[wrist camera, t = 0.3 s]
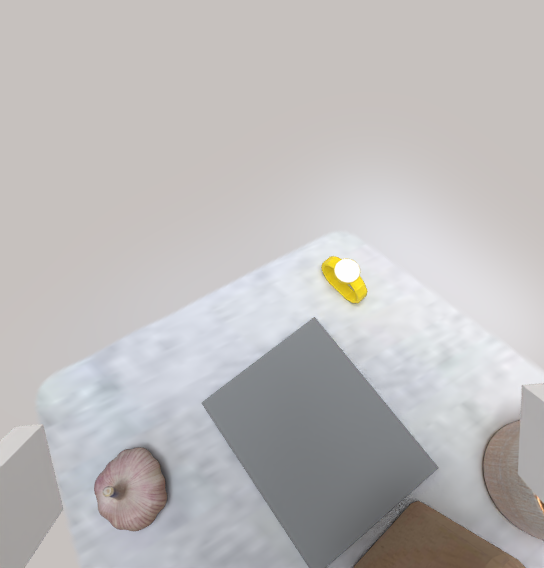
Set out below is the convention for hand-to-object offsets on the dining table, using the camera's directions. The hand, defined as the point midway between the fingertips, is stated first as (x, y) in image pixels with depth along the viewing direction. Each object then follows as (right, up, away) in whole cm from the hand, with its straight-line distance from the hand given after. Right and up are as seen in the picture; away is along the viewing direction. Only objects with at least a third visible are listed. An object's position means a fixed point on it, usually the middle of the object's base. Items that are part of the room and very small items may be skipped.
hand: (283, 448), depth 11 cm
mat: (+4, -12, +32) cm, 35 cm away
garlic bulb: (-14, -17, +32) cm, 39 cm away
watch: (+8, +4, +38) cm, 39 cm away
